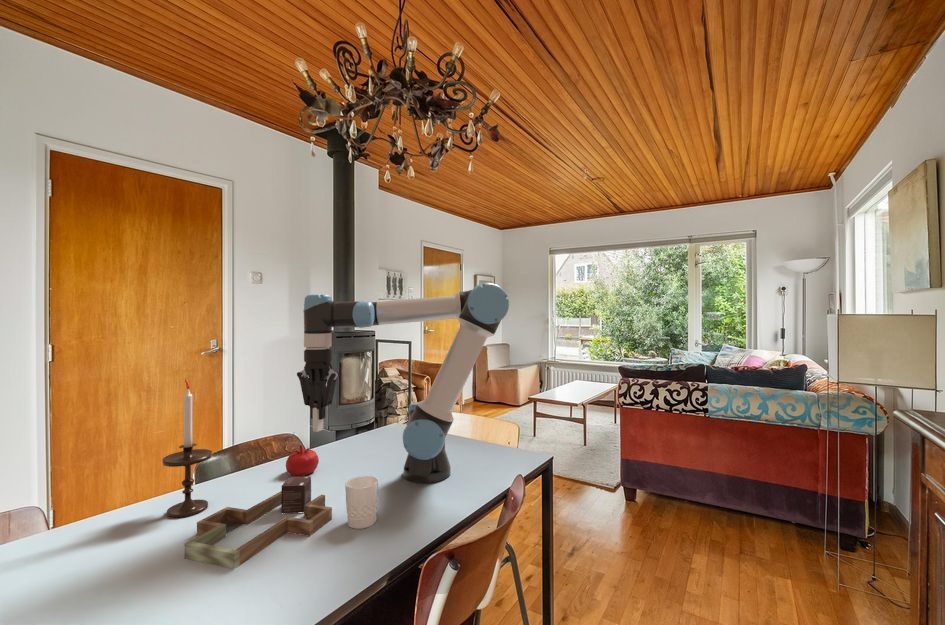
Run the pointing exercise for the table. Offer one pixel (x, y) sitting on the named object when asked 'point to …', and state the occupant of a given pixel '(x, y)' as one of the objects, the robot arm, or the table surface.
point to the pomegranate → (302, 462)
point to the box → (295, 494)
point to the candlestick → (187, 465)
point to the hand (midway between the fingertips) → (318, 430)
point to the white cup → (361, 501)
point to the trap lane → (231, 518)
